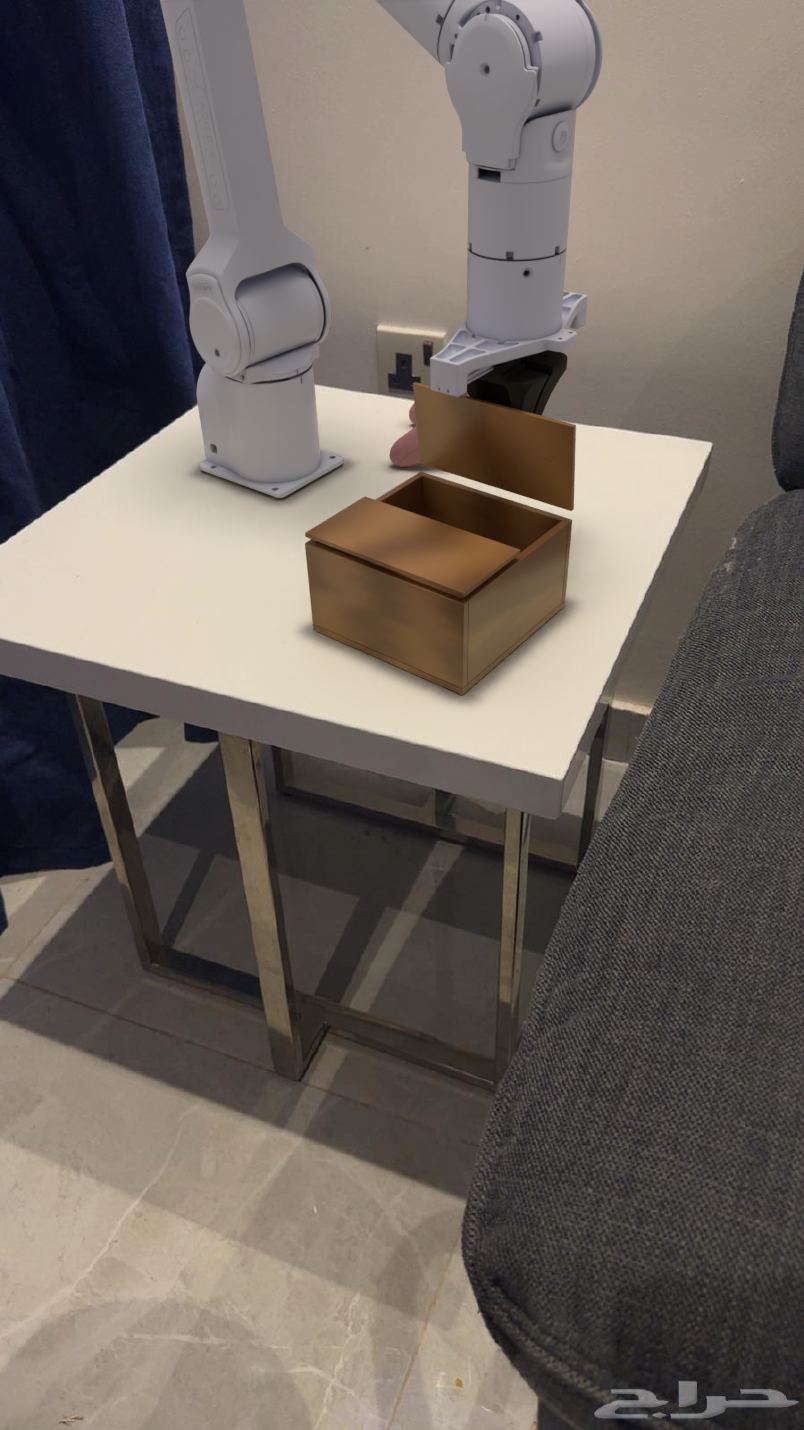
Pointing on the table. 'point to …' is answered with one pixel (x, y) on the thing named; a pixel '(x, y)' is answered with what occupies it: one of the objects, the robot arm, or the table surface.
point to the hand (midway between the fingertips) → (507, 465)
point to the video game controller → (407, 445)
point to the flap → (497, 445)
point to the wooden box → (437, 577)
